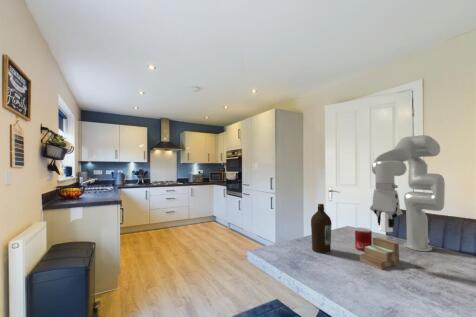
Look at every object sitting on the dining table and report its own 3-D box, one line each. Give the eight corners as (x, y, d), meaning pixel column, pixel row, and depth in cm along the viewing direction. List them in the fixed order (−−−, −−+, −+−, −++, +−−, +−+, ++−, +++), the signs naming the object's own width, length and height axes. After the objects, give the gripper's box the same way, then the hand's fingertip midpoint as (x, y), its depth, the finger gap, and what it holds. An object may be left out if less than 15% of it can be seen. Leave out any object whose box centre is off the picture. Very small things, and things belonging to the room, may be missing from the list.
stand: (377, 255, 116) (377, 236, 117) (400, 263, 107) (400, 243, 107) (359, 261, 109) (359, 241, 109) (382, 270, 100) (382, 248, 100)
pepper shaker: (387, 229, 109) (386, 206, 109) (395, 232, 103) (395, 208, 104) (376, 229, 109) (376, 206, 109) (384, 232, 103) (383, 208, 104)
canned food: (374, 252, 121) (373, 231, 121) (357, 251, 122) (357, 230, 123) (368, 247, 128) (368, 227, 129) (353, 246, 130) (353, 227, 130)
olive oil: (307, 250, 123) (307, 203, 125) (316, 245, 131) (316, 202, 132) (326, 255, 116) (325, 206, 117) (335, 250, 123) (334, 204, 124)
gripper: (409, 188, 102) (410, 229, 101) (371, 185, 116) (372, 221, 115) (401, 188, 98) (402, 231, 97) (362, 186, 112) (363, 223, 111)
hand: (385, 225), depth 106 cm, fingers closed on pepper shaker, 3 cm apart
